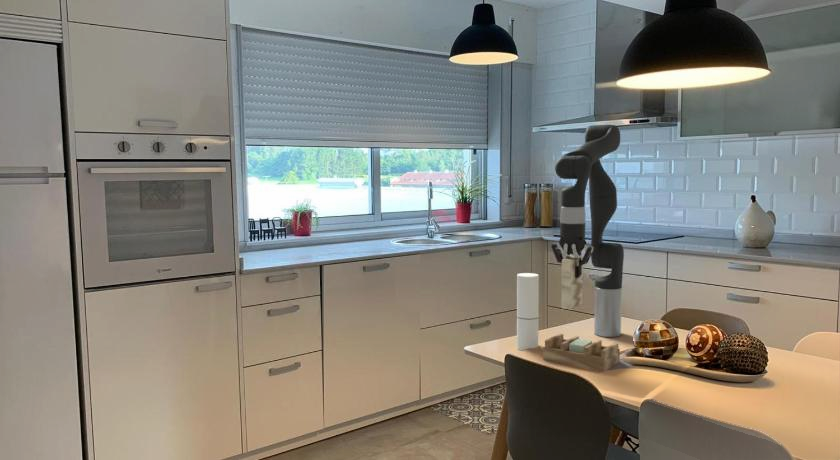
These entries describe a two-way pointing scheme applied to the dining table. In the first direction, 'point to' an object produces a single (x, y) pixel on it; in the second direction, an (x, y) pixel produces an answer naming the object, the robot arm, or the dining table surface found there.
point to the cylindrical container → (527, 310)
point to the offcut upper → (579, 345)
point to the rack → (591, 359)
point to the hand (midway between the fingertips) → (572, 276)
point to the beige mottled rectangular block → (571, 285)
